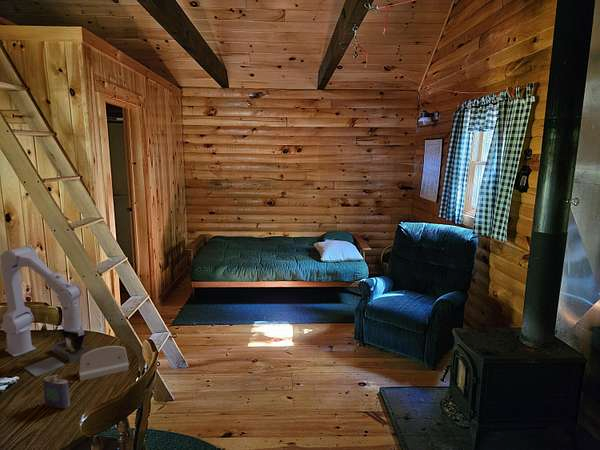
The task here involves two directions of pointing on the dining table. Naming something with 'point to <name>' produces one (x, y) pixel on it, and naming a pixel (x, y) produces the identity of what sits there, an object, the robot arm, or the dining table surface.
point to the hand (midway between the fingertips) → (74, 347)
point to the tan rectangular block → (70, 345)
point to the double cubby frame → (62, 352)
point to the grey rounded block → (103, 362)
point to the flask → (56, 392)
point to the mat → (44, 366)
